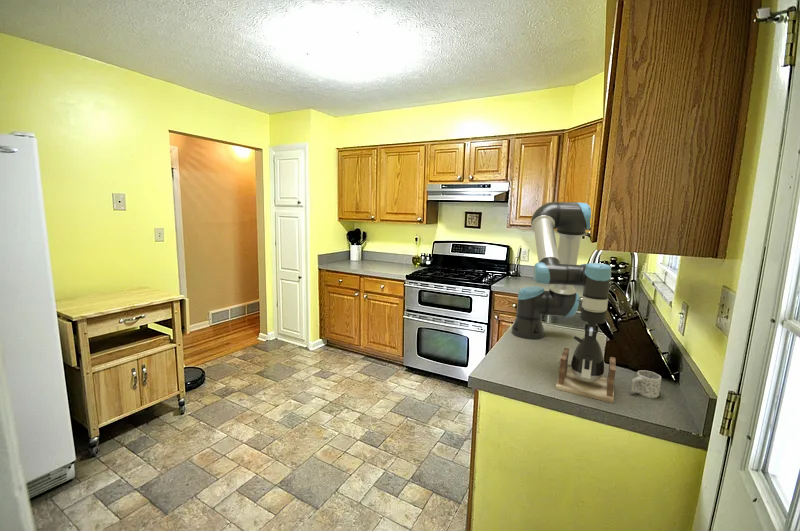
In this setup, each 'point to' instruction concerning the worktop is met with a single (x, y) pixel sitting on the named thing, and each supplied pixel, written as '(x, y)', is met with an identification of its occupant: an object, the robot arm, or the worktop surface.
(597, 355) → the pump dispenser
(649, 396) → the mug
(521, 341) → the worktop surface
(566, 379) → the caddy
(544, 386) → the worktop surface
